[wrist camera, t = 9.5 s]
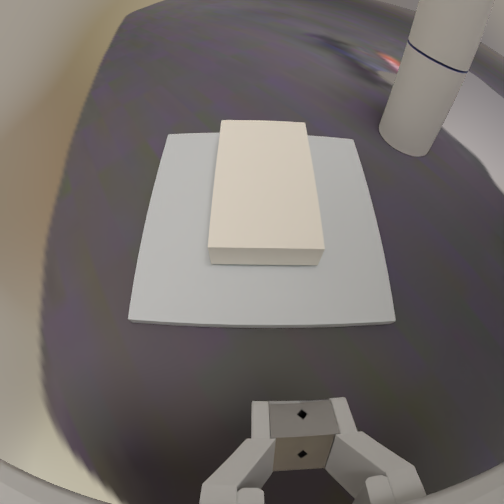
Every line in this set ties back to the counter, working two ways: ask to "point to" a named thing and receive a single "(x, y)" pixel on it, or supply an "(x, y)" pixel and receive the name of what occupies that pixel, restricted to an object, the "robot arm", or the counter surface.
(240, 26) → the counter surface
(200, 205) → the mat
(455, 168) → the counter surface
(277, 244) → the tile
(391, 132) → the cylindrical container
